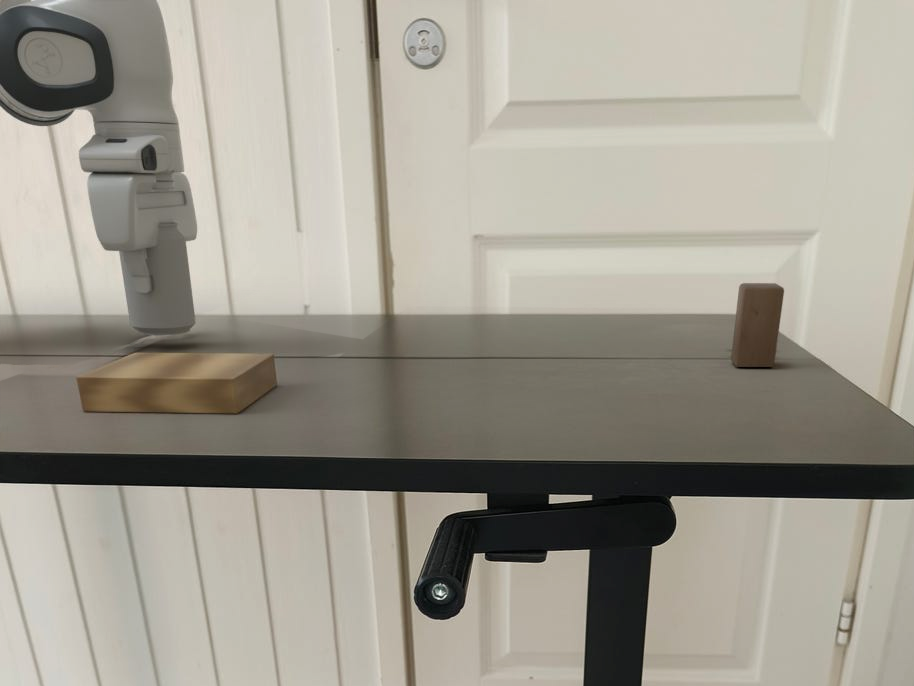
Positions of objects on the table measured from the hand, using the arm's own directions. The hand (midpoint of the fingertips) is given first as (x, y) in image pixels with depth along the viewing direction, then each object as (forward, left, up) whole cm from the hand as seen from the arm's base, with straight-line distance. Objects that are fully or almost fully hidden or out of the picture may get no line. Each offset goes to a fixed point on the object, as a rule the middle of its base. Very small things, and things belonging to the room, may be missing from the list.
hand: (159, 288), depth 107 cm
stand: (+13, -27, -7) cm, 31 cm away
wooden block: (+67, -8, -7) cm, 68 cm away
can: (0, 0, -5) cm, 5 cm away
